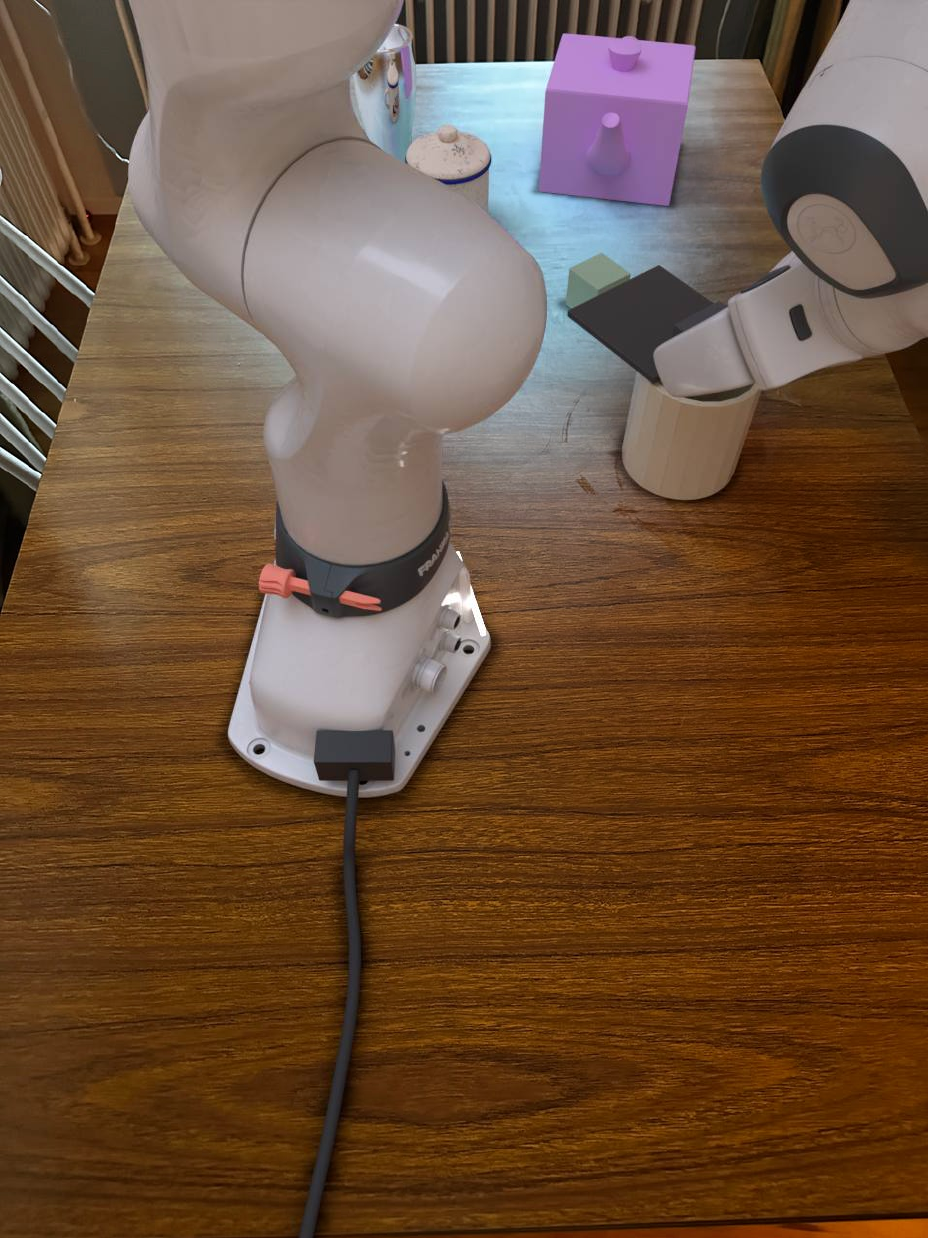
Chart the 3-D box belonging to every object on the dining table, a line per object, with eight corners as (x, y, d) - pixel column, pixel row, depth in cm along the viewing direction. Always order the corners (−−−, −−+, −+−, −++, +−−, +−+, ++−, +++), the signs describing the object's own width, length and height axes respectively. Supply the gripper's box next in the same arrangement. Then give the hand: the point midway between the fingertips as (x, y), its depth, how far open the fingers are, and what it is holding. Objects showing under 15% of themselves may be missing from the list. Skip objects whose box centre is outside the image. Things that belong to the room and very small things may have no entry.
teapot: (528, 226, 107) (536, 100, 96) (560, 113, 121) (570, -9, 110) (663, 242, 106) (688, 115, 94) (679, 125, 120) (702, 2, 108)
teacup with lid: (493, 210, 109) (496, 107, 100) (485, 258, 104) (487, 155, 94) (390, 204, 110) (382, 101, 100) (377, 251, 105) (368, 147, 95)
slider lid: (745, 332, 80) (756, 295, 77) (653, 384, 76) (660, 347, 73) (657, 270, 84) (665, 233, 81) (566, 316, 81) (570, 279, 78)
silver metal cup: (353, 162, 115) (340, 28, 103) (406, 149, 117) (399, 15, 104) (374, 192, 111) (363, 56, 99) (429, 178, 113) (425, 43, 101)
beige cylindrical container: (758, 466, 86) (792, 371, 77) (676, 517, 83) (702, 424, 74) (679, 404, 91) (702, 307, 82) (598, 450, 87) (614, 354, 78)
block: (625, 310, 99) (631, 273, 95) (593, 326, 97) (598, 289, 94) (596, 288, 101) (601, 252, 97) (565, 304, 99) (569, 267, 96)
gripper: (932, 192, 66) (786, 250, 78) (723, 304, 59) (599, 348, 71) (959, 280, 67) (811, 323, 80) (758, 399, 60) (631, 426, 73)
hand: (710, 336), depth 75 cm, fingers closed, pressing on slider lid
